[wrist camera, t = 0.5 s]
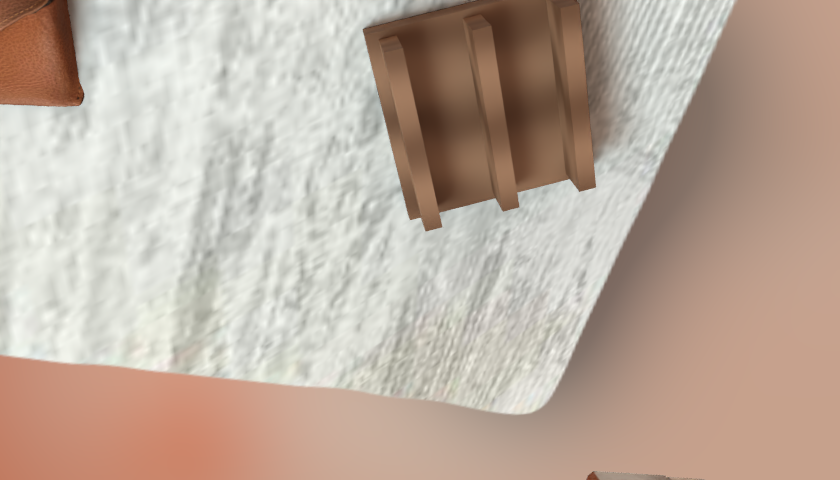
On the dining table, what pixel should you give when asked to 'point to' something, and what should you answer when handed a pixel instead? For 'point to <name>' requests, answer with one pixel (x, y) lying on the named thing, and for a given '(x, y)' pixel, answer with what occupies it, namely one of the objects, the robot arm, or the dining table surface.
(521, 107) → the rack
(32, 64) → the sunglasses case
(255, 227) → the dining table surface
